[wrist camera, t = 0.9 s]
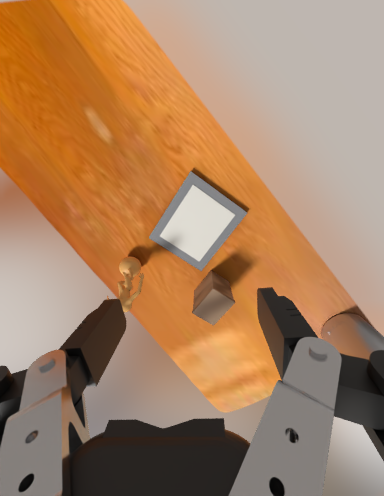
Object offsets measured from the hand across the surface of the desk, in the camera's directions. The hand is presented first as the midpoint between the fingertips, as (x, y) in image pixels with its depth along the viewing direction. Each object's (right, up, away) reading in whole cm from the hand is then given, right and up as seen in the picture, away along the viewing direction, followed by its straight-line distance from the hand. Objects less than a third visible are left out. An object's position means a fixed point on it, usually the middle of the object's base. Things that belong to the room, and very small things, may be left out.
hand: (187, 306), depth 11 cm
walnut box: (+4, -5, +29) cm, 30 cm away
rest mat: (+1, +8, +24) cm, 26 cm away
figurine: (-11, 0, +28) cm, 30 cm away
